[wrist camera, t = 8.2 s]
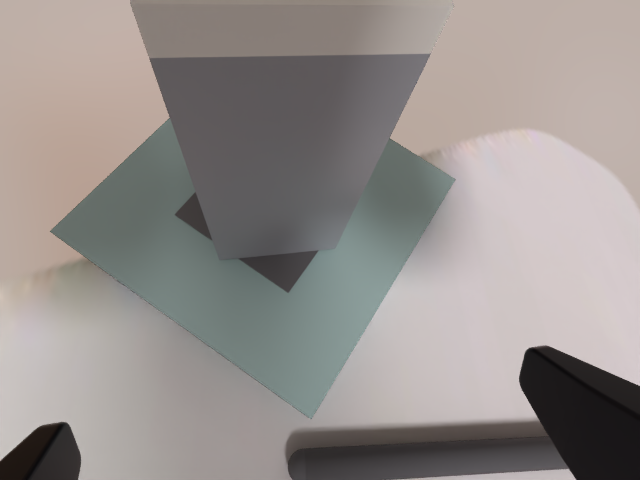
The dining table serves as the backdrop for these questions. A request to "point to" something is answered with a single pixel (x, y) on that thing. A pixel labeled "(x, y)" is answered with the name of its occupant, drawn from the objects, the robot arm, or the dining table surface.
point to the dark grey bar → (425, 459)
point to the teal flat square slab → (256, 265)
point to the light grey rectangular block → (285, 106)
